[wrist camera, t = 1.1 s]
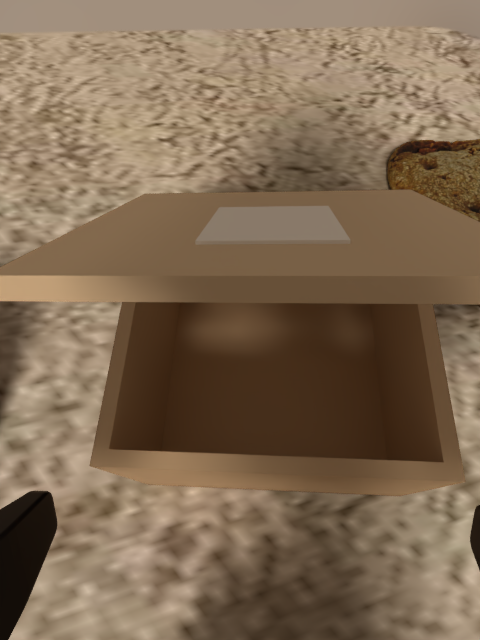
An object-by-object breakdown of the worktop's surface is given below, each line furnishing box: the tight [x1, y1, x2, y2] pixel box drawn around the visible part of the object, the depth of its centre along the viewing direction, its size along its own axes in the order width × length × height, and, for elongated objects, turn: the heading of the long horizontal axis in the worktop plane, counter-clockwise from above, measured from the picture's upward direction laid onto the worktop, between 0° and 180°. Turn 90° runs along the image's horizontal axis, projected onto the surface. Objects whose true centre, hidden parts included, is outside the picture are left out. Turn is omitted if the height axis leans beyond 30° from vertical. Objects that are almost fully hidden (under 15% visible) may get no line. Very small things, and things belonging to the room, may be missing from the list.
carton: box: [90, 302, 465, 496], centre depth 20 cm, size 12×13×8 cm
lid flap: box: [0, 190, 480, 304], centre depth 14 cm, size 12×12×1 cm
